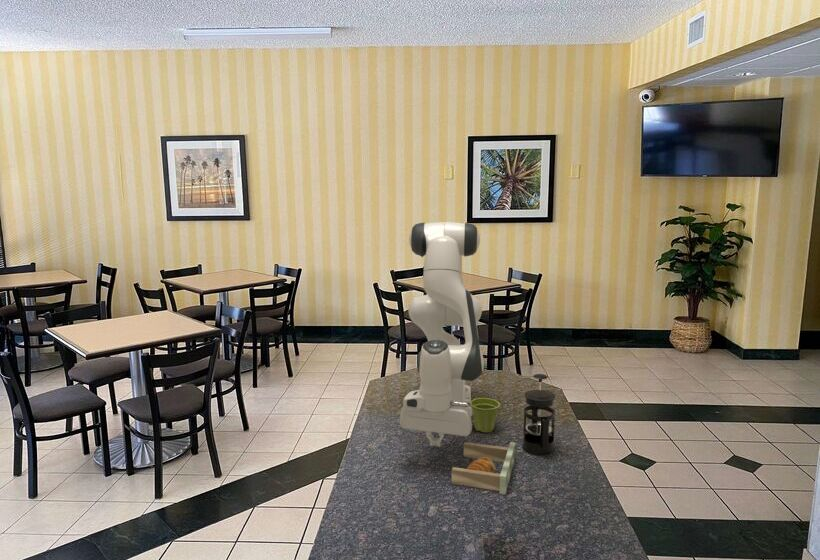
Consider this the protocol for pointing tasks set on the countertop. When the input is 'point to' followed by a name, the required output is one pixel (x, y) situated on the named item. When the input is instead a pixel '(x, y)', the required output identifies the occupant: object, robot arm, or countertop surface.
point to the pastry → (482, 465)
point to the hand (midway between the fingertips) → (435, 445)
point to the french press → (543, 429)
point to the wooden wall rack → (486, 478)
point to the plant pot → (484, 413)
